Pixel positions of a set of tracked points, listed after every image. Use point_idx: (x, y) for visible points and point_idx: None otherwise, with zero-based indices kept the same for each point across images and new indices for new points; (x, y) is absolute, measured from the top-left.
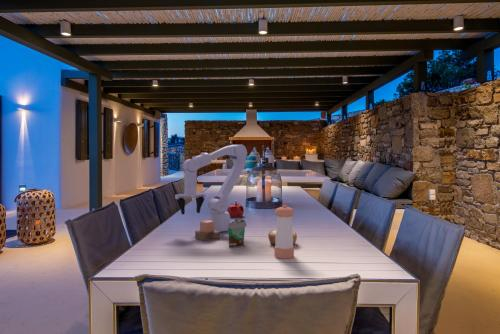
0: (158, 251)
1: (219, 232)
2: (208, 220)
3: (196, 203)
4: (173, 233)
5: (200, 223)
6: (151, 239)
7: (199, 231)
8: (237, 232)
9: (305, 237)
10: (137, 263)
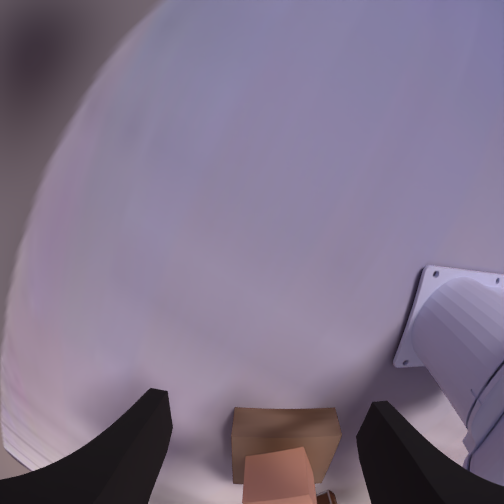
0: (65, 442)
1: (320, 481)
2: (307, 500)
3: (429, 483)
4: (155, 238)
5: (244, 494)
6: (31, 306)
7: (244, 453)
8: None
9: None
10: (38, 457)
